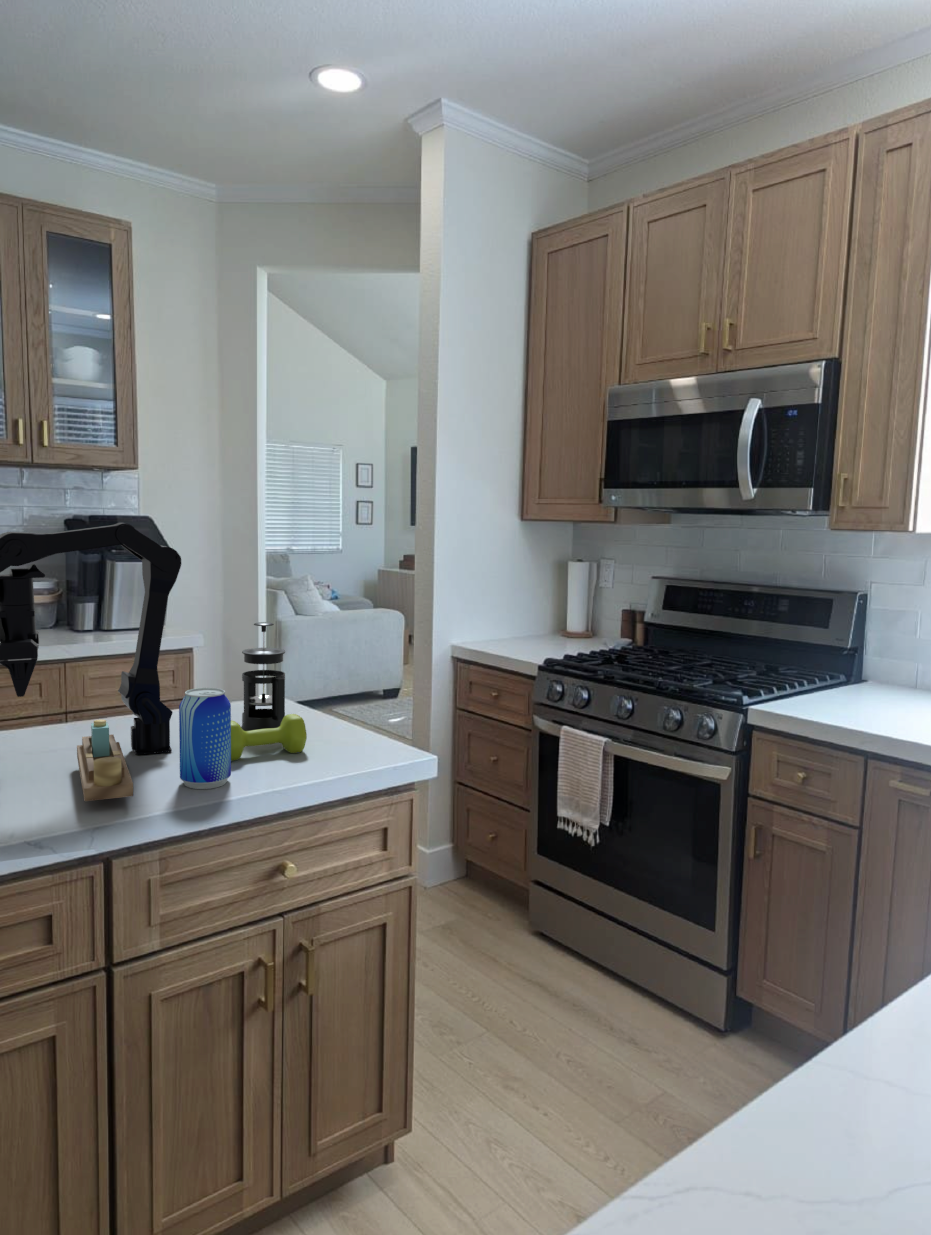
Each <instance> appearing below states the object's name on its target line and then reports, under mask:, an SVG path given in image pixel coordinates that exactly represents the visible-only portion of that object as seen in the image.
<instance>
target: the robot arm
mask: <svg viewBox="0 0 931 1235" xmlns="http://www.w3.org/2000/svg"><path fill="white" fill-rule="evenodd" d="M113 546H122V548H124V549H126V550H127V551H128V552H129V553H131V554H132V555H133V556H135V557H136V558H137V559H139V560H141V567H142V568H141V570H142V572H141V573H142V581H143V587H144V596H143V600H142V601H143V602H142V608H141V609H142V610H141V614H140V615H141V616H140V622H139V627H138V628H139V630H138V634H137V641H136V647H135V655H134V661H133V663H132V665H131V668H130V670H129V671H128V672H127V671H123V670H122V671H121V672H120V673H121V674H120V677H121V678H120V682H121V684H120V686H119V688H118V690H117V691H118V693H119V694H120V695H121V696H120V697H121V702H122V703H123V704H124V705H125V706H126V707H127V708H128V709H129V710H130V711H131V712H132V713H133V715H134V716H135V717H133V725H131V726H130V748H131V750H132V751H134V754H135V755H136V756H141V755H142V756H143V755H150V754H151V755H152V754H162V753H163V754H164V753H171V752H172V751H173V750H172V748H171V724H170V722H171V718H172V715H173V710H171V709H170V708H169V707H168V706H166V705H165V703H163V702H162V701H161V685H160V678H159V670H158V664H159V658H160V652H161V645H162V638H163V633H164V632H163V631H164V625H165V621H166V620H165V619H166V614H167V613H166V612H167V606H168V600H169V595H170V593H171V591H172V589H173V587H174V586H175V584H176V581H177V579H178V576H179V573H180V570H181V567H182V557H181V555H180V553H178V551H177V550H176V549H174V548H172V547H169V546H166V545H160V544H159V543H157V542H156V541H155V540H152V539H151V538H150V537H148V536H146V535H145V534H143V533H142V532H140V531H139V530H137V529H136V528H135V526H133V525H132V524H130V523H125V522H117V523H115V524H111V525H103V526H95V527H87V528H80V529H71V530H65V531H64V530H63V531H57V532H31V531H29V532H27V531H6V532H2V533H0V573H2V572H4V571H6V569H8V568H10V567H19V566H21V567H22V566H24V565H27V564H30V565H29V566H28V567H27V568H25V567H23V568H10V569H9V573H7V574H5V573H4V574H0V665H2V666H3V667H5V668H6V669H8V672H9V675H10V678H11V681H12V684H13V685H12V686H13V688H14V691H15V695H16V697H17V698H20V697H21V698H22V697H25V695H26V692H27V688H28V686H29V683H30V680H31V678H32V676H33V672H34V670H35V667H36V664H37V662H38V660H39V659H38V657H39V644H40V637H39V636H40V635H39V631H38V630H37V627H36V626H37V625H36V606H35V595H34V594H35V593H34V579H39V578H40V579H41V578H42V579H43V578H45V577H46V573H44V572H42V571H41V570H40V569H39V568H38V566H37V565H36V564H34V563H33V562H36V561H39V560H42V559H45V558H48V557H51V556H53V555H57V554H63V553H64V554H65V553H71V552H78V551H86V550H92V549H99V548H105V547H113Z"/></svg>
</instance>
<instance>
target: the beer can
mask: <svg viewBox="0 0 931 1235" xmlns="http://www.w3.org/2000/svg"><path fill="white" fill-rule="evenodd" d="M178 706H179V707H178V713H179V714H178V716H179V717H178V720H179V722H178V723H179V724H178V725H179V726H178V728H179V729H178V730H179V733H178V734H179V778H180V780H181V781H182V782H183V785H184V786H185V787H187V788H188V789H194V790H195V789H196V790H211V789H216V788H219V787H222V786H224V785H226V783H227V781H228V779H229V778H230V777H231V774H232V761H231V720H232V716H231V715H232V714H231V712H232V707H231V702H230V700H229V698H228V697H227V695H226V690H224V689H222V688H217V687H197V688H192V689H191V688H190V689H188V690H186V691H185V692H184V696H183V699H182V700H181V701H180V703H179V705H178Z"/></svg>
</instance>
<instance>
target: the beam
mask: <svg viewBox="0 0 931 1235" xmlns="http://www.w3.org/2000/svg"><path fill="white" fill-rule="evenodd" d="M81 737H82V738H81V744H78V745H76V757H77V764H78V770H79V776H80V777H79V778H80V782H81V783H80V784H81V788H82V793H83V800H84V802H90V801H100V800H108V799H109V800H110V799H118V798H127V797H129V798H130V797H134V782H133V779H132V776H131V773H130V771H129V768H128V765H127V761H126V759H125V755H124V753H123V751H122V748H121V744H120V742H119V741H116V739H115V736H114V734H109V753H110V756H103V757H93V754H92V738H91V735H90V736H89V735H88V736H81Z"/></svg>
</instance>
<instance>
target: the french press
mask: <svg viewBox="0 0 931 1235" xmlns="http://www.w3.org/2000/svg"><path fill="white" fill-rule="evenodd" d="M274 624H275V623H273V622H270V621H268V622H267V621H260V622H259V621H258V622H255V623H253V626H256V627H258V626H259V627H260V628H261V629H260V630H261V632H262V647H253V648H247V649H243V650H242V652H241V653H242V654H243V659H244V660H243V661H244V663H246V664H250V665H251V664H252V665H262V669H254V670H248V671H244V672H243V673H241V681H242V682H243V712H242V713H241V721H242V723H241V725H240V726H241V728H242V729H243V730H244V731H251V730H257V729H267V728H278V727H279V726H280V725H281V722H282V719H283V718H284V716H286V711H285V710H286V707H285V705H286V701H285V698H286V694H285V693H286V673H285V672H284V671H281V670H276V669H275V670H274V669H265V665H272V664H273V665H275V664H279V663H283V662H284V654H285V653H286V650H284V649H282V648H275V647H265V646H266V645H265V642H266V641H265V637H266V636H265V633H266V632H267V627H270V626H274ZM265 684H266V685H267V684H271V695H270V694H269V695H268V694H266V692H265V690H266V689H265V686H266V685H265ZM256 685H262V693H261V694H260V695H256V693H257V691H256V690H257V689H256V688H257V687H256ZM257 707H271V708H257Z"/></svg>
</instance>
